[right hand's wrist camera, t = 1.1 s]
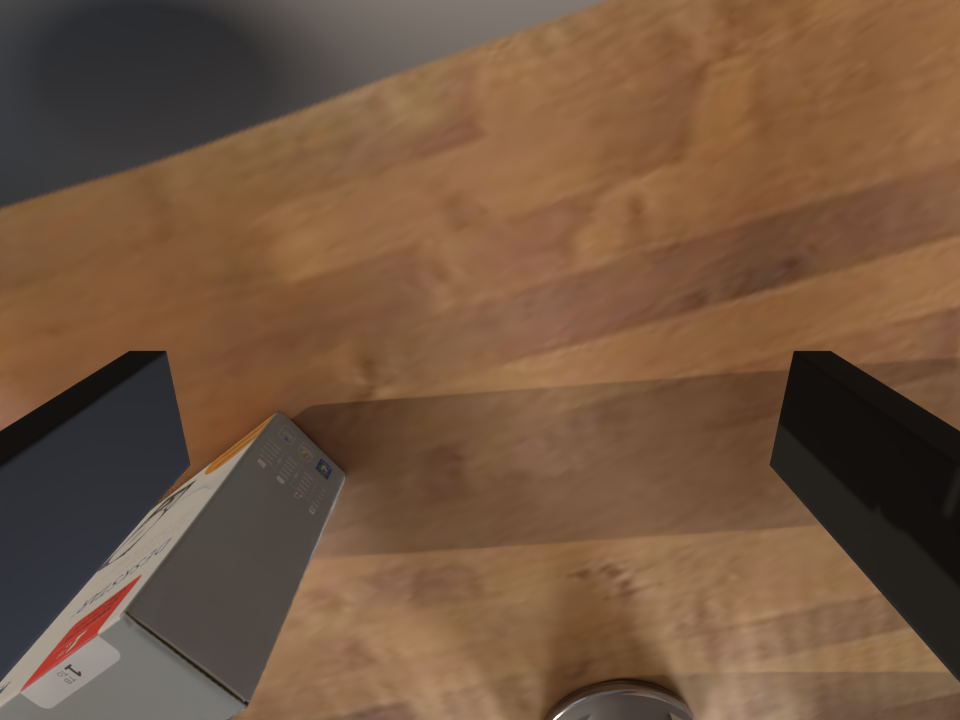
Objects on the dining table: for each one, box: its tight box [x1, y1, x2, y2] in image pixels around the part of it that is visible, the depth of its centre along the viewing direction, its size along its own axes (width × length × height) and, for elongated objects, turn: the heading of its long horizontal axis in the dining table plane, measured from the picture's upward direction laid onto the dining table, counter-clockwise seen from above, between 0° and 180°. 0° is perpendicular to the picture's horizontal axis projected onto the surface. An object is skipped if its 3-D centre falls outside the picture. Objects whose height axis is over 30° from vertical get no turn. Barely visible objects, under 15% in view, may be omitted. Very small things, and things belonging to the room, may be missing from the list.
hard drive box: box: [0, 411, 346, 720], centre depth 37 cm, size 16×8×20 cm, turn 128°
